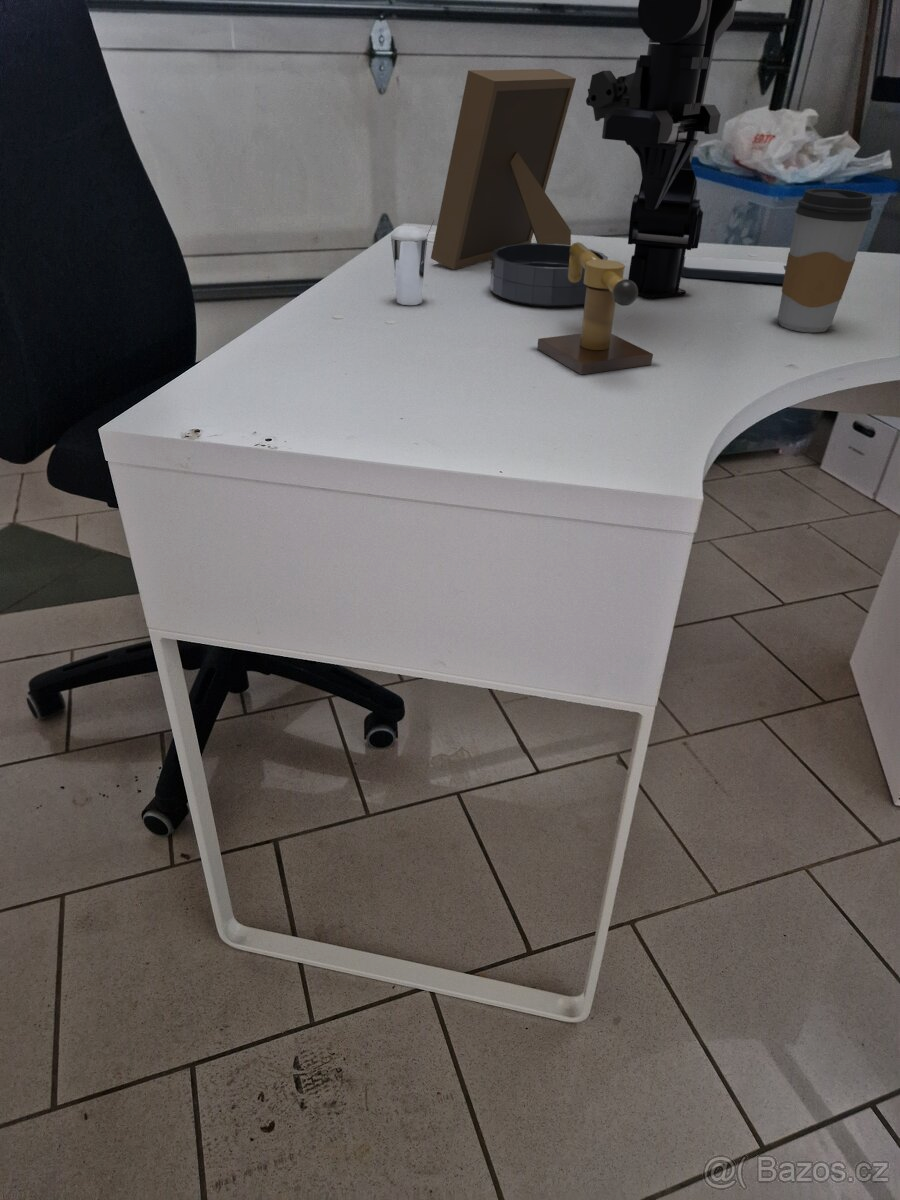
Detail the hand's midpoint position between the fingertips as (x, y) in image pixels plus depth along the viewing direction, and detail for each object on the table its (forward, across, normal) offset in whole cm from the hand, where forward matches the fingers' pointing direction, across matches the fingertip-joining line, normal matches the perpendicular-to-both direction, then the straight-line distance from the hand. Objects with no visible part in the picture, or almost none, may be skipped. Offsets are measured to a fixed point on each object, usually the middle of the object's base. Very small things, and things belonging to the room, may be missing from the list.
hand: (651, 208), depth 95 cm
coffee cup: (+13, -13, +17) cm, 25 cm away
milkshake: (+13, +10, -27) cm, 31 cm away
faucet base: (+13, +15, +2) cm, 20 cm away
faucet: (+8, +14, +1) cm, 16 cm away
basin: (+13, -6, -15) cm, 21 cm away
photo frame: (+13, -19, -29) cm, 37 cm away
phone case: (+13, -34, +1) cm, 36 cm away
